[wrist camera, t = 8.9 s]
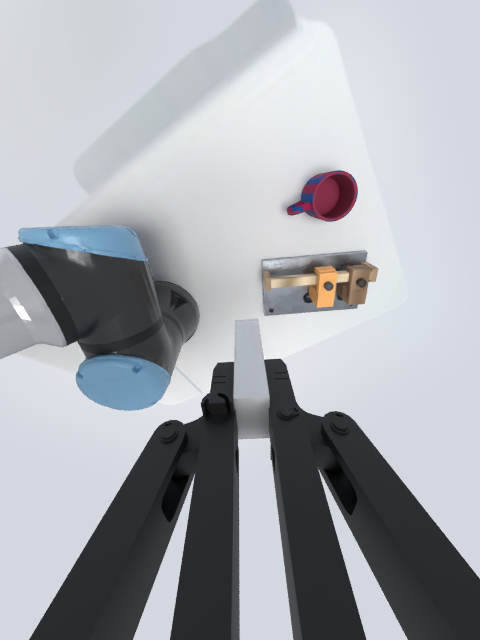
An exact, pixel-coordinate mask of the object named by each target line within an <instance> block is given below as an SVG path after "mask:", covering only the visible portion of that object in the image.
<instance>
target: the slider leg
mask: <svg viewBox="0 0 480 640" xmlns="http://www.w3.org/2000/svg"><path fill="white" fill-rule="evenodd" d="M314 272H315V273H316V274H317V275H318V277H317V284H315V285H309V297H310V298H311V300H312V301H313V303H314V304H315V306H316V307H317V308H321V307H333V304H334V297H335V289H336V282H337V274H338V272H337V271H336V269H335V268H333V267H332V266H323V267H315V270H314Z"/></svg>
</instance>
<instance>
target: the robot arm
mask: <svg viewBox="0 0 480 640" xmlns="http://www.w3.org/2000/svg"><path fill="white" fill-rule="evenodd" d="M18 239H19V241H20V242H23V244H21V245H16V246H10V247H4V248H0V359H1V358H4V357H6V356H9V355H11V354H14V353H16V352H18V351H21V350H23V349H26V348H28V347H30V346H33V345H35V344H48V345H53V346H58V347H65V346H67V345H69V344H72V343H74V342H76V341H78V343H79V345H80V347H81V349H82V351H83V353H84V354H85V356H86V360H84V361H83V362H82V363H81V364H80V366H79V370H78V372H77V374H76V382H77V385H78V387H79V389H80V390H81V391H82V392H83V394H84V395H86V396H87V397H88V398H89V399H91V400H93V401H94V402H96V403H98V404H100V405H103V406H107V407H109V408H113V409H117V410H140V409H144V408H147V407H150V406H152V405H154V404H155V403H156V402H157V401H159V400H160V399H161V398H162V396H163V394H164V393H165V391H166V389H167V387H168V385H169V383H170V380H171V375H172V372H173V370H174V367H175V364H176V361H177V358H178V355H179V353H180V350H181V347H182V345H183V344H184V343H185V342H187V341H188V340H189V339H190V338H191V337H192V336H193V335H194V333H195V331H196V329H197V326H198V322H199V310H198V306H197V304H196V302H195V300H194V299H193V298H192V296H191V295H190V294H189V293H188V292H187V291H185V290H184V289H183V288H181V287H179V286H177V285H175V284H172V283H169V282H162V281H158V282H153V280H152V276H151V273H150V269H149V266H148V263H147V261H148V259H147V257H145V255H144V252H143V249H142V246H141V243H140V241H139V238H138V236H137V234H136V233H135V232H134V231H133V230H132V229H130V228H129V227H126V226H119V225H113V226H68V227H41V228H22V229H20V230H19V237H18ZM201 407H202V412H203V416H202V417H200V418H199V419H197V420H195V421H193V422H190V423H187V424H184V425H183V423H182V422H180V421H177V420H170V421H167V422H164V423H163V424H161V425H160V426H159V427H158V428H157V429H156V430H155V431H154V433H153V435H152V437H151V438H150V440H149V441H148V443H147V445H146V446H145V448H144V450H143V452H142V453H141V455H140V456H139V458H138V460H137V462H136V463H135V465H134V466H133V468H132V470H131V471H130V473H129V475H128V477H127V478H126V480H125V481H124V483H123V485H122V486H121V488H120V490H119V491H118V493H117V495H116V496H115V498H114V500H113V501H112V503H111V505H110V506H109V508H108V510H107V511H106V513H105V515H104V516H103V518H102V520H101V521H100V523H99V525H98V526H97V528H96V530H95V532H94V533H93V534H92V536H91V538H90V539H89V541H88V543H87V545H86V546H85V548H84V549H83V551H82V553H81V554H80V556H79V558H78V559H77V561H76V563H75V565H74V566H73V568H72V569H71V571H70V573H69V574H68V576H67V578H66V580H65V581H64V583H63V585H62V586H61V588H60V589H59V591H58V593H57V594H56V596H55V598H54V599H53V601H52V603H51V604H50V606H49V608H48V609H47V611H46V613H45V614H44V616H43V618H42V620H41V621H40V623H39V624H38V626H37V628H36V629H35V631H34V633H33V634H32V636H31V638H30V639H29V640H133V637H134V635H135V632H136V630H137V627H138V624H139V621H140V619H141V616H142V613H143V611H144V608H145V605H146V603H147V600H148V597H149V594H150V592H151V589H152V587H153V584H154V581H155V578H156V576H157V573H158V571H159V568H160V565H161V562H162V560H163V557H164V555H165V552H166V549H167V546H168V544H169V541H170V539H171V536H172V533H173V531H174V528H175V525H176V523H177V520H178V517H179V514H180V512H181V509H182V506H183V504H184V501H185V498H186V496H187V493H188V490H189V488H190V485H191V482H192V480H193V477H194V474H195V478H194V485H193V491H192V498H191V504H190V511H189V518H188V524H187V531H186V538H185V544H184V551H183V558H182V565H181V571H180V577H179V584H178V591H177V597H176V604H175V610H174V617H173V624H172V630H171V637H170V640H239V449H238V439H255V438H270V442H271V460H272V465H273V474H274V481H275V490H276V498H277V507H278V514H279V523H280V532H281V540H282V547H283V556H284V565H285V573H286V581H287V589H288V597H289V606H290V614H291V622H292V630H293V638H294V640H366V637H365V633H364V630H363V626H362V623H361V619H360V615H359V612H358V608H357V605H356V601H355V598H354V594H353V591H352V587H351V584H350V580H349V577H348V573H347V569H346V566H345V562H344V559H343V555H342V552H341V549H340V545H339V541H338V538H337V534H336V531H335V527H334V524H333V520H332V517H331V513H330V510H329V506H328V502H327V499H326V495H325V492H324V488H323V485H322V482H321V478H320V474H319V471H318V469H319V470H320V472H321V474H322V476H323V478H324V480H325V482H326V484H327V486H328V487H329V490H330V491H331V493H332V495H333V497H334V499H335V501H336V503H337V505H338V507H339V509H340V511H341V512H342V514H343V516H344V518H345V520H346V522H347V524H348V526H349V528H350V530H351V531H352V533H353V536H354V537H355V539H356V541H357V543H358V545H359V547H360V549H361V550H362V553H363V554H364V557H365V558H366V560H367V562H368V564H369V566H370V568H371V570H372V572H373V574H374V576H375V578H376V579H377V581H378V583H379V585H380V587H381V589H382V591H383V593H384V595H385V597H386V599H387V601H388V602H389V604H390V606H391V608H392V610H393V612H394V614H395V616H396V618H397V620H398V622H399V623H400V625H401V627H402V629H403V631H404V633H405V635H406V636H407V639H408V640H480V579H479V577H478V576H477V575H476V574H475V572H474V571H473V570H472V569H471V567H470V566H469V565H468V563H467V562H466V561H465V560H464V558H463V557H462V556H461V555H460V553H459V552H458V551H457V550H456V548H455V547H454V546H453V545H452V543H451V542H450V541H449V540H448V538H447V537H446V536H445V534H444V533H443V532H442V531H441V529H440V528H439V527H438V526H437V525H436V523H435V522H434V521H433V520H432V518H431V517H430V516H429V514H428V513H427V512H426V511H425V509H424V508H423V507H422V506H421V504H420V503H419V502H418V501H417V499H416V498H415V497H414V495H413V494H412V493H411V492H410V490H409V489H408V488H407V487H406V485H405V484H404V483H403V482H402V480H401V479H400V478H399V476H398V475H397V474H396V473H395V471H394V470H393V469H392V468H391V466H390V465H389V464H388V463H387V461H386V460H385V459H384V458H383V456H382V455H381V454H380V453H379V451H378V450H377V449H376V447H375V446H374V445H373V444H372V442H371V441H370V440H369V439H368V437H367V436H366V435H365V434H364V432H363V431H362V430H361V429H360V428H359V426H358V425H357V423H356V422H355V421H354V420H353V419H352V418H351V417H350V416H348V415H346V414H344V413H341V412H337V411H335V412H329V413H327V414H325V416H324V417H320V416H317V415H312V414H309V413H307V412H305V411H303V410H302V409H301V408H300V407H299V406H298V404H297V402H296V400H295V396H294V392H293V389H292V385H291V381H290V378H289V374H288V370H287V367H286V364H285V363H284V362H283V361H282V360H281V359H268V360H264V356H263V350H262V343H261V336H260V330H259V323H258V319H251V320H235V353H234V362H225V363H218V364H217V365H216V366H215V368H214V369H213V376H212V384H211V390H210V393H209V394H207V395H206V396H205V397H204V398H203V399H202V402H201Z"/></svg>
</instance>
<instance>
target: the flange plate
mask: <svg viewBox="0 0 480 640" xmlns="http://www.w3.org/2000/svg"><path fill="white" fill-rule="evenodd" d="M366 257H367V252H366V251H356V252H345V253H334V254H323V255H312V256H300V257H289V258H278V259H267V260H262V270H263V271H264V270H268V271H269V274H270V277H277V276H288V275H300V274H311V273H315V272H314V270H315V267H323V266H332V267H333V268H335V269H336V271H346V266H353V265H360V262H366ZM336 289H337V283H336ZM336 289H335V297H334V304H333V307H321V308H317V307H316V306H315V304H314V303H313V301H312V300H311V298H310V297H309V285H304V286H292V287H280V288H271V290H269V291H266V289H265V286H264V282H263V295H264V314H265V316H268V315H280V314H293V313H305V312H317V311H330V310H342V309H354V308H357V306H358V304H357V305H347V304H346V303H345V302H344V300H343V299H342V298H341V297H340V296H339V295H338V294H337V293H336Z"/></svg>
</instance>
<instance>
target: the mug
mask: <svg viewBox="0 0 480 640" xmlns="http://www.w3.org/2000/svg"><path fill="white" fill-rule="evenodd" d="M357 194H358V188H357V184H356V181H355V179H354V178H353V176H352V175H351V174H349V173H348V172H345V171H333V172H328V173H323V174H319V175H316V176H314V177H313V178H311V179H310V180H309V181H308V182H307V184H306V185H305V187H304V189H303V192H302V196H301V201H300V202H298V203H295V204H293V205H291V206H289V207H288V208H287V213H288V215H296V214H299V213H302V212H306V213H307V214H308V215H310V216H313V217H315V218H318V219H321V220H324V221H329V222H331V221H337V220H339V219H341V218H343V217H344V216H346V215H347V214H348V213H349V212H350V211H351V209H352V208H353V206H354V204H355V202H356V199H357Z"/></svg>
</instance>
